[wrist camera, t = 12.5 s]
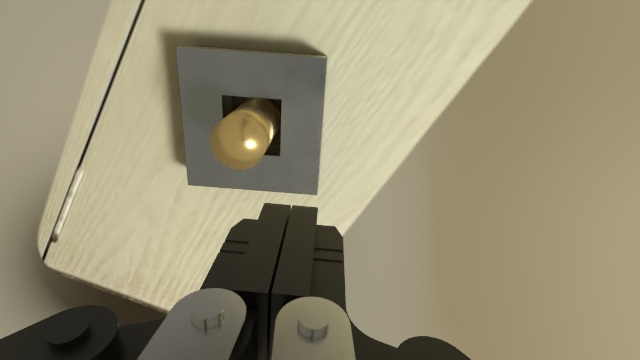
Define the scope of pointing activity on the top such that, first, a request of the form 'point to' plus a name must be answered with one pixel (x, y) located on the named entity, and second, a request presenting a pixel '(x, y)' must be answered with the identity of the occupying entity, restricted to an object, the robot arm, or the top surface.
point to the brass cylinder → (245, 134)
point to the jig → (260, 82)
